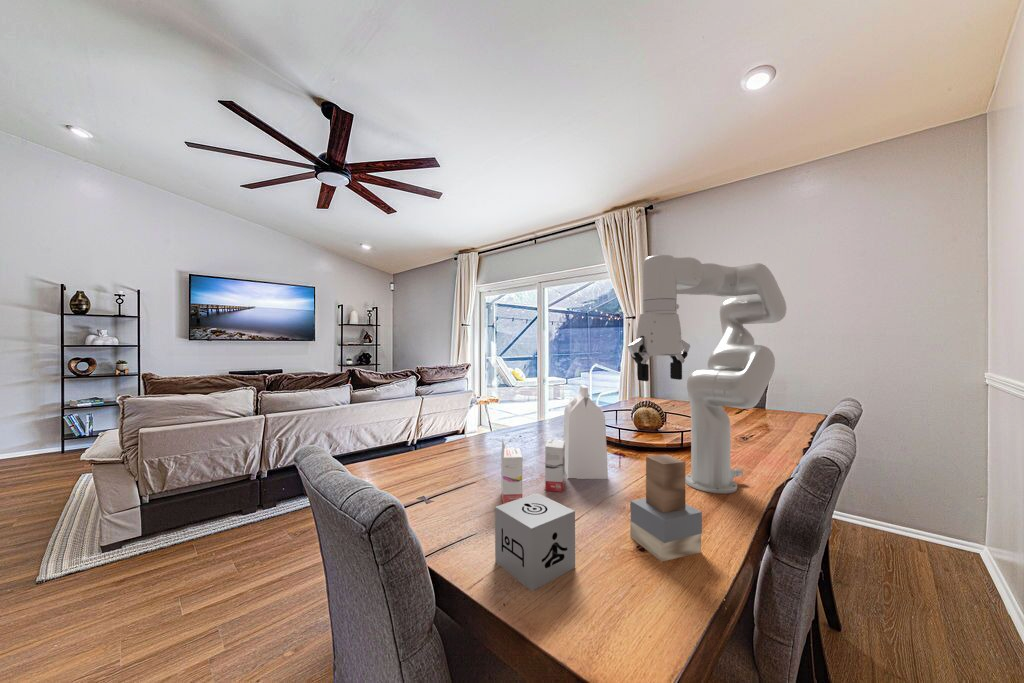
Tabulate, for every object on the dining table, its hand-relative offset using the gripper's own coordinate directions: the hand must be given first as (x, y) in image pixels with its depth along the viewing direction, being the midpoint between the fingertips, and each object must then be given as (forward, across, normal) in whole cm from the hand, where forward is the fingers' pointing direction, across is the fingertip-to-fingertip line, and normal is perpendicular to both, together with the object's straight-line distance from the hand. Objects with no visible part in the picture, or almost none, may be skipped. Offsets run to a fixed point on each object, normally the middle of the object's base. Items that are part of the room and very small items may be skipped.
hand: (659, 379), depth 90 cm
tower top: (+27, +11, +14) cm, 32 cm away
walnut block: (+23, +11, +14) cm, 29 cm away
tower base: (+31, +11, +14) cm, 36 cm away
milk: (+31, +5, -27) cm, 41 cm away
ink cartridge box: (+30, +32, -16) cm, 47 cm away
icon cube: (+30, +37, +12) cm, 50 cm away
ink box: (+31, +18, -20) cm, 41 cm away
